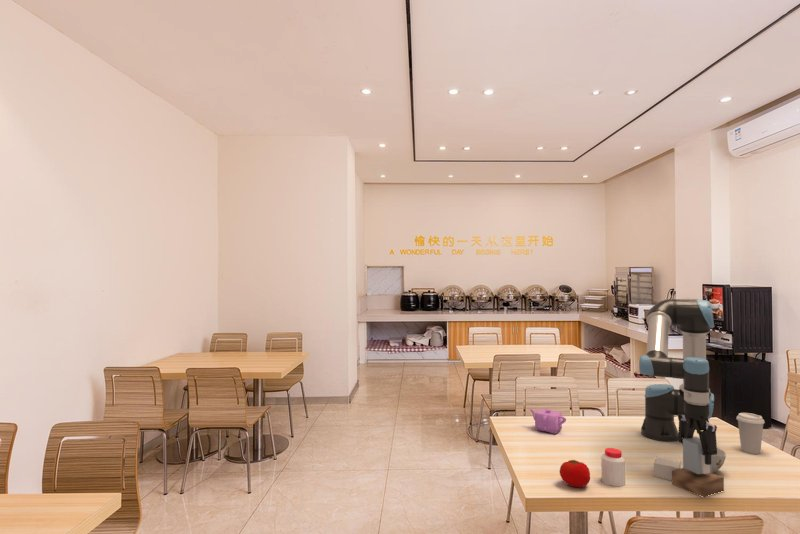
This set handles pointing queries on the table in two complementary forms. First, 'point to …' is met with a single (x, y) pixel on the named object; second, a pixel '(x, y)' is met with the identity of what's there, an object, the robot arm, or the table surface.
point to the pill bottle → (613, 467)
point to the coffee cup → (750, 432)
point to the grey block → (665, 467)
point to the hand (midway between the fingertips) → (697, 468)
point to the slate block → (693, 455)
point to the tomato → (575, 473)
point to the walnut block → (697, 482)
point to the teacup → (718, 460)
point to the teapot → (548, 420)
